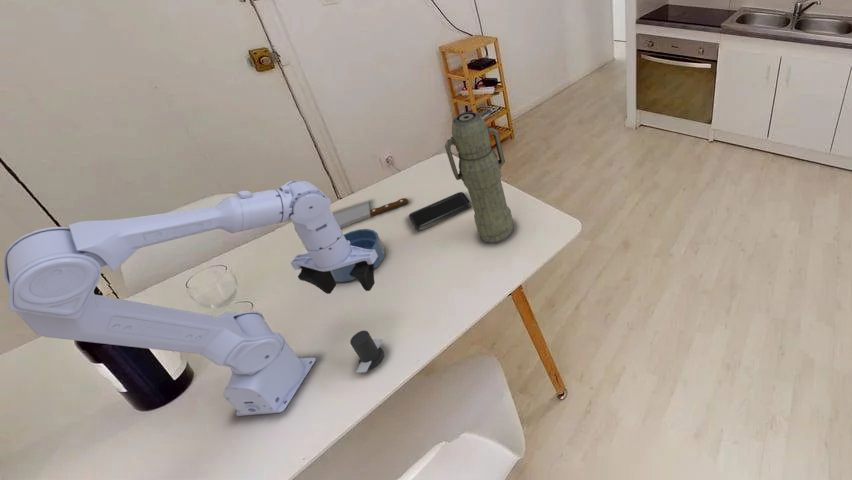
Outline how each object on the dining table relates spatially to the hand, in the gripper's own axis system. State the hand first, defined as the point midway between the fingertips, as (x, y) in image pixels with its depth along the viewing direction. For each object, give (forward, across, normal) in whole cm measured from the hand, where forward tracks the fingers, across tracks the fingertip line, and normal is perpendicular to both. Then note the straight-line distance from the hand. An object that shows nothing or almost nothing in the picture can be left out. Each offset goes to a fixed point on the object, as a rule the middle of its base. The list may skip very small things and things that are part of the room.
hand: (351, 288), depth 82 cm
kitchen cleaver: (+10, +19, -34) cm, 40 cm away
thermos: (+10, -22, -24) cm, 34 cm away
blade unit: (+10, -6, +9) cm, 14 cm away
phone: (+10, -4, -33) cm, 34 cm away
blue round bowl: (+10, +10, -16) cm, 21 cm away
